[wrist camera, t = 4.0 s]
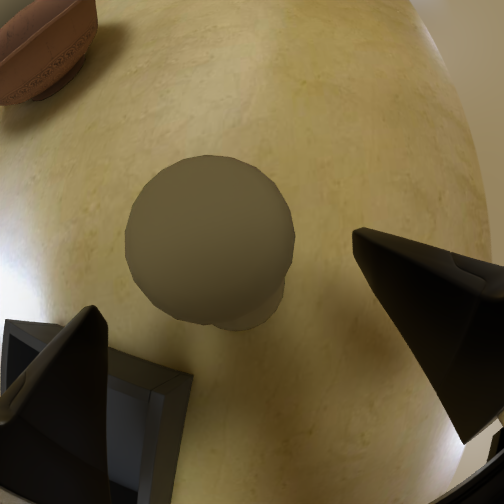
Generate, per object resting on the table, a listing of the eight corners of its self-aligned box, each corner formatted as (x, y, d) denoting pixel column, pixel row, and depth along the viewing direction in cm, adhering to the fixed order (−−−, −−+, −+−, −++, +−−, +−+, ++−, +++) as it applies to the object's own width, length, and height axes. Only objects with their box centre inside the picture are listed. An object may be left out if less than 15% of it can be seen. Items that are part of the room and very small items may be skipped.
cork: (266, 344, 17) (275, 378, 6) (174, 311, 17) (65, 289, 7) (296, 251, 18) (340, 154, 7) (207, 223, 19) (150, 111, 8)
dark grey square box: (193, 374, 16) (164, 395, 11) (170, 505, 14) (145, 546, 8) (56, 323, 17) (5, 318, 12) (47, 445, 15) (6, 462, 9)
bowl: (104, 16, 29) (84, -31, 18) (160, 52, 24) (133, -28, 13) (-3, 100, 26) (-36, 63, 15) (3, 180, 21) (-60, 132, 10)
